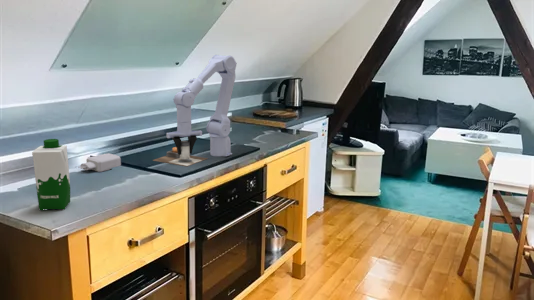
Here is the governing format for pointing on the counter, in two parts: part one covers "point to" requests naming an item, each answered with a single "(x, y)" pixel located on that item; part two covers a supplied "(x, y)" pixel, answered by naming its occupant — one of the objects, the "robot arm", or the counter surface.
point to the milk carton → (52, 175)
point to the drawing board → (175, 159)
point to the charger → (101, 162)
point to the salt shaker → (185, 150)
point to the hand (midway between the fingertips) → (184, 153)
